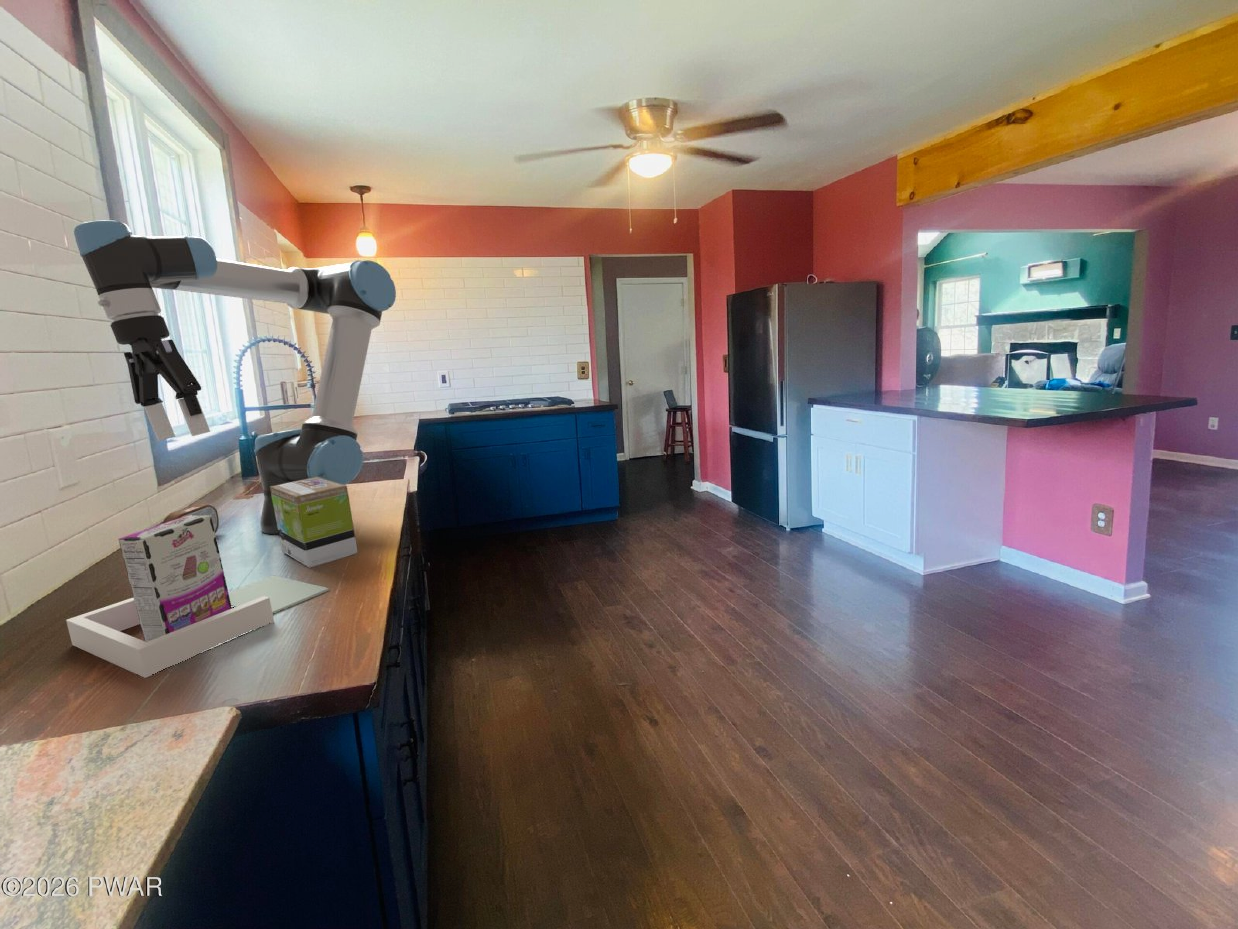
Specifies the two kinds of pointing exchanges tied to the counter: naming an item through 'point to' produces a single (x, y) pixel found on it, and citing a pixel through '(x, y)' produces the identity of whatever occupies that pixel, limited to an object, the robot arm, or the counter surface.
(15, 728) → the counter surface
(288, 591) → the sage mat
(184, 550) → the candy bar box
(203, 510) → the tin
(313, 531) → the tea box
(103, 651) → the white piece
